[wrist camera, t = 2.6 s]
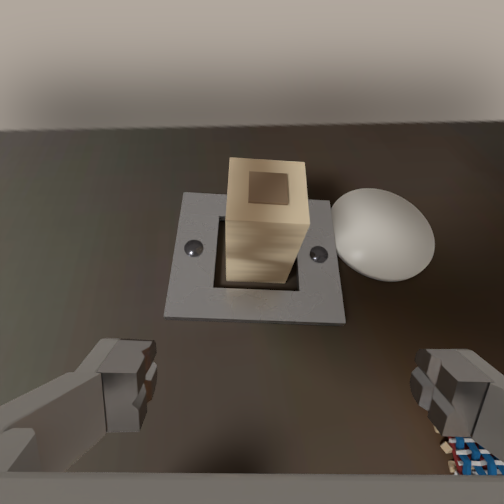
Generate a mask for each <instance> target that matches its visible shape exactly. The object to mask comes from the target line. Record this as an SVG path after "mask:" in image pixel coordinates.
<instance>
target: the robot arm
mask: <svg viewBox="0 0 504 504" xmlns="http://www.w3.org/2000/svg"><path fill="white" fill-rule="evenodd" d="M156 353H157V352H156V342H155V341H154V340H139V339H120V338H103V339H101V340H100V341H99V342H98V343H97V344H96V346H95V347H94V348H93V349H92V351H91V352H90V353H89V354H88V356H87V357H86V358H85V359H84V361H83V362H82V363H81V364H80V366H79V367H78V368H77V369H76V371H75V372H68V373H66V374H64V375H62V376H60V377H58V378H56V379H54V380H52V381H50V382H48V383H46V384H44V385H42V386H40V387H38V388H36V389H34V390H32V391H30V392H28V393H26V394H24V395H22V396H20V397H18V398H16V399H14V400H12V401H10V402H8V403H6V404H4V405H2V406H0V504H504V475H404V474H243V473H116V472H65V471H66V470H67V469H68V468H69V467H70V466H72V465H73V464H74V463H75V462H76V461H77V460H78V459H79V458H80V457H82V456H83V455H84V454H85V453H86V452H87V451H88V450H89V449H90V448H92V447H93V446H94V445H95V444H96V443H97V442H98V441H99V440H100V439H101V438H103V437H104V436H105V435H106V432H140V429H141V427H142V424H143V421H144V419H145V416H146V413H147V403H148V402H149V401H150V400H152V397H153V394H154V391H155V386H156V381H157V365H156V364H155V363H154V362H153V360H154V358H155V356H156ZM415 362H416V364H417V366H418V367H417V368H416V369H415V370H414V371H413V372H412V373H411V378H410V388H411V392H412V395H413V397H414V399H415V400H416V402H417V403H418V405H420V406H421V407H423V408H424V409H426V410H427V411H428V418H429V419H430V421H431V422H432V423H433V425H434V426H435V427H436V429H437V430H438V431H439V433H440V434H441V435H442V436H451V437H472V439H473V440H474V441H475V442H477V443H478V444H479V445H481V446H482V447H483V448H485V449H486V450H487V451H489V452H490V453H491V454H493V455H494V456H495V457H497V458H498V459H499V460H501V461H502V462H503V463H504V375H502V374H501V373H500V372H499V371H497V370H496V369H495V368H494V367H492V366H491V365H490V364H489V363H487V362H486V361H485V360H484V359H482V358H481V357H480V356H479V355H477V354H476V353H475V352H474V351H472V350H469V349H419V350H418V352H417V353H416V356H415Z"/></svg>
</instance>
